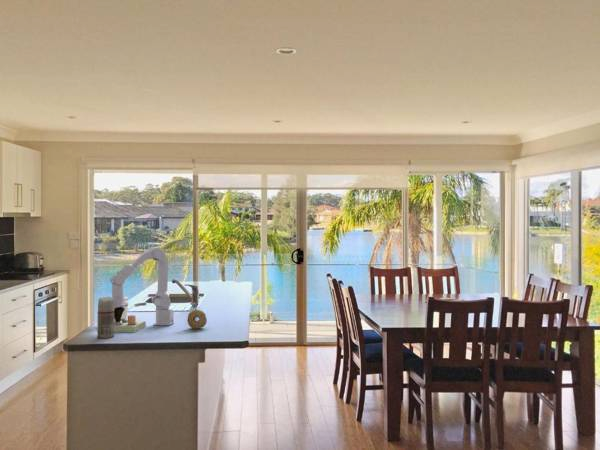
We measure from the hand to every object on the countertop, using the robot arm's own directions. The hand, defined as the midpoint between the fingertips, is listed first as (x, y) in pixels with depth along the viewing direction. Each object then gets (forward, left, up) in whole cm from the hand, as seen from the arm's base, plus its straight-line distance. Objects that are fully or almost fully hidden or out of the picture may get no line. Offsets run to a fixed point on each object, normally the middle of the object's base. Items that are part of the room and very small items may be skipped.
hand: (117, 321), depth 291 cm
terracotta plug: (-7, -2, -1) cm, 7 cm away
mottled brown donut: (-41, -8, -5) cm, 42 cm away
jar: (+8, -18, -5) cm, 20 cm away
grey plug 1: (0, 0, -4) cm, 4 cm away
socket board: (-4, -4, -5) cm, 7 cm away
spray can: (-1, +16, -5) cm, 17 cm away
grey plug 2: (0, -8, -4) cm, 9 cm away
